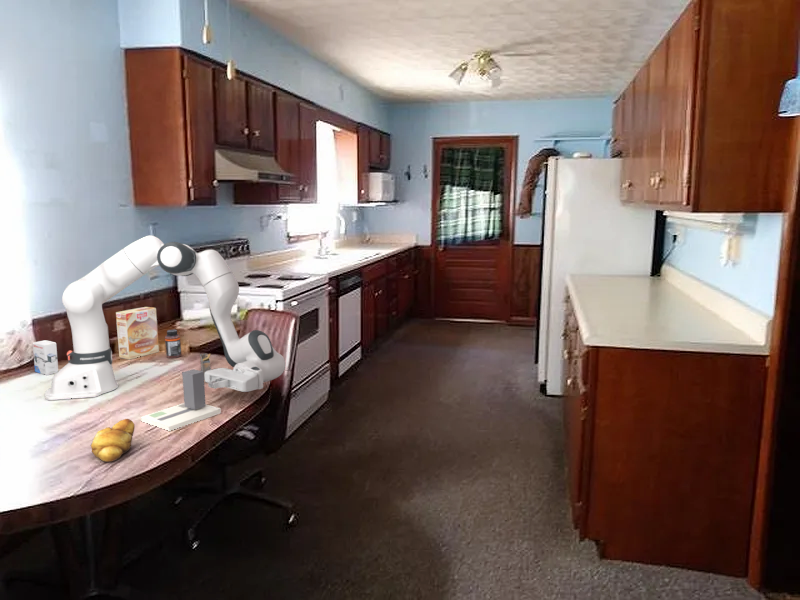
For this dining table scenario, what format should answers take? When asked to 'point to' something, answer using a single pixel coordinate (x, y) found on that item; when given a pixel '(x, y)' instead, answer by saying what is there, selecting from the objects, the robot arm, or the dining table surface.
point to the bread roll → (113, 440)
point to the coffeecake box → (137, 332)
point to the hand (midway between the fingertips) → (211, 385)
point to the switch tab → (194, 389)
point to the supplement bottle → (172, 344)
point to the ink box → (45, 357)
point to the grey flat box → (205, 362)
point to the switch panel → (179, 416)
